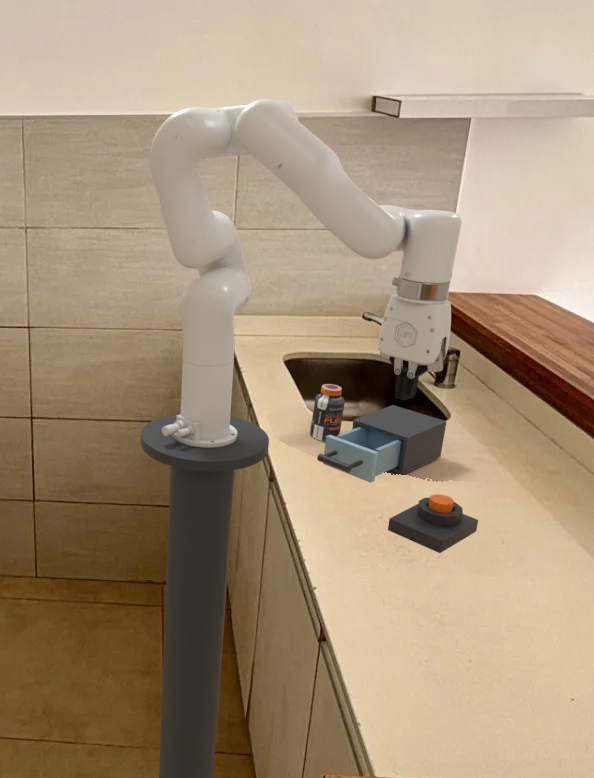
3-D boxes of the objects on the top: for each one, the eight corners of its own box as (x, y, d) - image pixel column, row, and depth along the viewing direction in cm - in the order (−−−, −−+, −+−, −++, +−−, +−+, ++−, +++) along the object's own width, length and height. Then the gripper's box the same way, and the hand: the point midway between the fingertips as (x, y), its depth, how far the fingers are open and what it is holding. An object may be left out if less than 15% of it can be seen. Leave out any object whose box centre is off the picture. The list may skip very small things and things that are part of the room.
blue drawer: (354, 490, 136) (358, 460, 134) (306, 470, 144) (309, 442, 142) (409, 465, 146) (413, 437, 144) (361, 447, 154) (365, 421, 152)
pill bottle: (322, 444, 158) (329, 393, 154) (303, 433, 163) (310, 383, 159) (345, 440, 160) (353, 389, 156) (326, 429, 165) (333, 380, 161)
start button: (444, 516, 122) (446, 506, 121) (423, 507, 125) (425, 498, 124) (456, 509, 124) (458, 500, 123) (435, 501, 127) (437, 492, 126)
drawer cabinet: (402, 475, 144) (407, 437, 142) (348, 455, 153) (353, 419, 150) (440, 456, 152) (446, 421, 149) (388, 438, 161) (392, 404, 158)
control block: (439, 553, 118) (444, 530, 117) (387, 530, 125) (390, 508, 124) (476, 531, 124) (480, 509, 123) (424, 510, 131) (427, 489, 130)
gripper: (368, 284, 126) (352, 389, 132) (454, 302, 114) (433, 416, 121) (394, 279, 130) (378, 381, 136) (481, 296, 119) (458, 406, 125)
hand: (404, 397), depth 129 cm, fingers closed
